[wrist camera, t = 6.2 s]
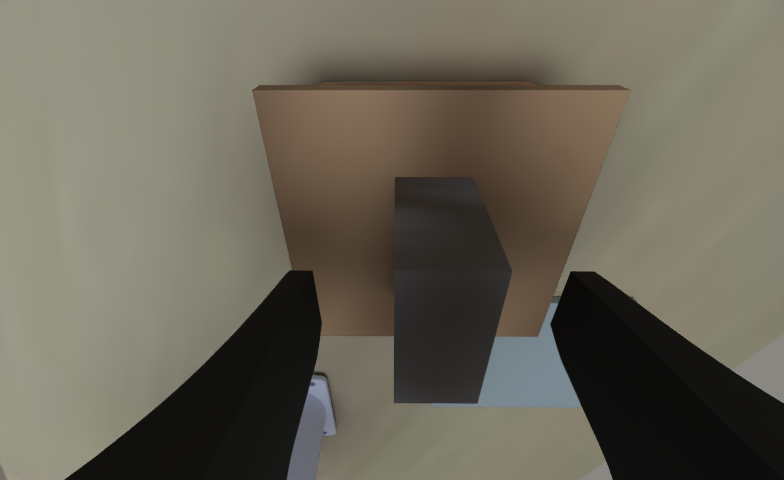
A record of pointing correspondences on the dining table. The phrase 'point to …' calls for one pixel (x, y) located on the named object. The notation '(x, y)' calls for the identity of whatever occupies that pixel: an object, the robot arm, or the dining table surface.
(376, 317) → the lid
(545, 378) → the mat
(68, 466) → the dining table surface
